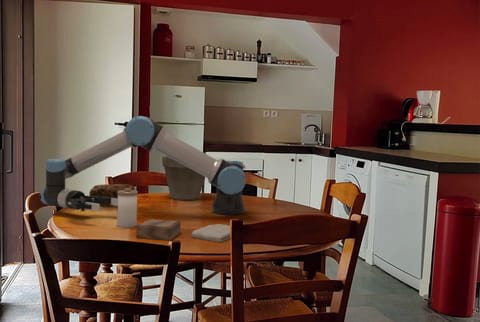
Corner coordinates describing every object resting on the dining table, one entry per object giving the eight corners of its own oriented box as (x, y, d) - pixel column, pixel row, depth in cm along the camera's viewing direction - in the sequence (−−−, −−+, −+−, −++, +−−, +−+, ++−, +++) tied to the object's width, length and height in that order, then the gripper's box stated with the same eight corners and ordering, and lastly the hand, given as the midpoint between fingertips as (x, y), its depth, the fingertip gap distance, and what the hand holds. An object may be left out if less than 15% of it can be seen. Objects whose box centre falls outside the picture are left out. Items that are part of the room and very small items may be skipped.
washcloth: (244, 234, 173) (245, 226, 173) (220, 244, 157) (221, 235, 157) (216, 229, 179) (217, 221, 178) (190, 239, 163) (191, 230, 163)
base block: (180, 232, 170) (180, 220, 170) (170, 240, 158) (171, 227, 158) (148, 230, 171) (148, 218, 171) (136, 237, 160) (136, 225, 159)
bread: (135, 204, 224) (135, 183, 223) (127, 208, 213) (128, 186, 212) (97, 202, 225) (97, 181, 225) (88, 206, 215) (88, 184, 214)
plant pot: (185, 193, 265) (187, 154, 263) (218, 199, 249) (220, 158, 248) (151, 197, 245) (152, 156, 244) (184, 204, 230) (185, 159, 228)
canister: (139, 224, 181) (140, 187, 180) (132, 228, 174) (133, 190, 173) (121, 222, 182) (122, 186, 181) (113, 226, 175) (114, 189, 174)
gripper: (46, 193, 179) (87, 199, 170) (95, 187, 201) (133, 192, 191) (46, 213, 180) (87, 220, 170) (95, 204, 202) (133, 210, 192)
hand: (112, 205), depth 181 cm, fingers open, 13 cm apart
